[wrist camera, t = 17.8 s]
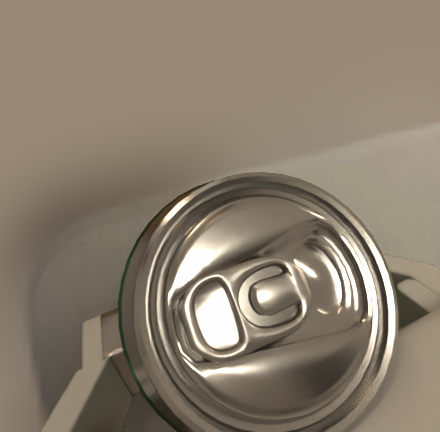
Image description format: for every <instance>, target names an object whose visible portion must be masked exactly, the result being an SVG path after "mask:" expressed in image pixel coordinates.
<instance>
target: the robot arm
mask: <svg viewBox="0 0 440 432" xmlns="http://www.w3.org/2000/svg"><path fill="white" fill-rule="evenodd" d="M384 258H385V260H386V263H387V265H388V268H389V270H390V273H391V276H392V280H393V284H394V287H395V291H396V297H397V305H398V313H399V323H398V341H397V347H396V354H395V359H394V362H393V365H392V368H391V371H390V374H389V378H388V380H387V382H386V384H385V386H384V388H383V390H382V392H381V394H380V396H379V398H378V399H377V401H376V402H375V403H374V405H373V406H372V408H371V409H370V410H369V412H368V413H367V414H366V416H365V417H364V418H363V419H362V420H361V421H360V422H359V423H358V424H357V425H356V426H355V427H354V428H353V429H351V430H350V431H349V432H440V268H438V267H436V266H435V265H431V264H426V263H421V262H417V261H412V260H407V259H402V258H397V257H392V256H387V255H384ZM139 392H141V391H140V389H139V388H138V386H137V384H136V382H135V380H134V378H133V377H132V375H131V373H130V370H129V367H128V364H127V361H126V358H125V355H124V353H123V349H122V344H121V338H120V332H119V326H118V308H117V309H115V310H112V311H109V312H107V313H104V314H101V315H100V316H97V317H94V318H92V319H89V320H86V321H84V322H83V325H82V369H81V370H79V371H77V372H76V373H75V375H74V377H73V378H72V380H71V381H70V383H69V385H68V386H67V388H66V390H65V391H64V393H63V395H62V396H61V398H60V400H59V401H58V403H57V405H56V406H55V408H54V410H53V411H52V413H51V415H50V416H49V418H48V420H47V421H46V423H45V424H44V426H43V428H42V430H41V431H40V432H122V429H123V426H124V423H125V420H126V417H127V414H128V411H129V408H130V405H131V402H132V396H133V395H135V394H137V393H139Z"/></svg>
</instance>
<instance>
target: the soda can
mask: <svg viewBox="0 0 440 432" xmlns="http://www.w3.org/2000/svg"><path fill="white" fill-rule="evenodd" d="M398 323H399V313H398V305H397V297H396V291H395V287H394V284H393V280H392V276H391V273H390V270H389V268H388V265H387V263H386V260H385V258H384V255H383V253H382V252H381V250H380V248H379V246H378V244H377V243H376V241H375V239H374V237H373V236H372V235H371V233H370V232H369V231H368V229H367V228H366V227H365V225H364V224H363V223H362V221H361V220H360V219H359V218H358V217H357V216H356V215H355V214H354V213H353V212H352V211H351V210H350V209H349V208H348V207H347V206H346V205H344V204H343V203H342V202H340V201H339V200H338V199H337V198H335V197H334V196H333V195H331V194H329V193H328V192H326V191H324V190H323V189H321V188H319V187H318V186H315V185H313V184H311V183H308V182H306V181H303V180H301V179H298V178H294V177H290V176H287V175H283V174H275V173H266V172H258V173H243V174H238V175H232V176H227V177H225V178H222V179H219V180H216V181H211V182H209V183H206V184H203V185H200V186H197V187H195V188H193V189H191V190H189V191H187V192H185V193H184V194H182V195H180V196H178V197H177V198H175V199H174V200H173V201H172V202H170V203H169V204H168V205H166V206H165V207H164V208H163V209H162V210H161V211H160V212H159V213H158V214H157V215H156V216H155V217H154V218H153V219H152V220H151V221H150V222H149V223H148V225H147V226H146V228H145V229H144V231H143V232H142V233H141V235H140V236H139V238H138V239H137V241H136V243H135V245H134V247H133V249H132V251H131V253H130V255H129V258H128V260H127V263H126V267H125V270H124V273H123V276H122V280H121V286H120V293H119V300H118V326H119V332H120V338H121V344H122V349H123V353H124V355H125V358H126V361H127V364H128V367H129V370H130V373H131V375H132V377H133V378H134V380H135V382H136V384H137V386H138V388H139V389H140V391H141V393H142V395H143V396H144V398H145V399H146V400H147V401H148V403H149V404H150V405H151V406H152V408H153V409H154V410H155V412H156V413H157V414H158V415H159V416H160V417H161V418H162V419H163V420H165V421H166V422H167V423H168V424H169V425H170V426H171V427H172V428H173V429H175V430H176V431H177V432H349V431H350V430H351V429H353V428H354V427H355V426H356V425H357V424H358V423H359V422H360V421H361V420H362V419H363V418H364V417H365V416H366V414H367V413H368V412H369V410H370V409H371V408H372V406H373V405H374V403H375V402H376V401H377V399H378V398H379V396H380V394H381V392H382V390H383V388H384V386H385V384H386V382H387V380H388V378H389V374H390V371H391V368H392V365H393V362H394V359H395V354H396V347H397V341H398Z"/></svg>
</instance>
